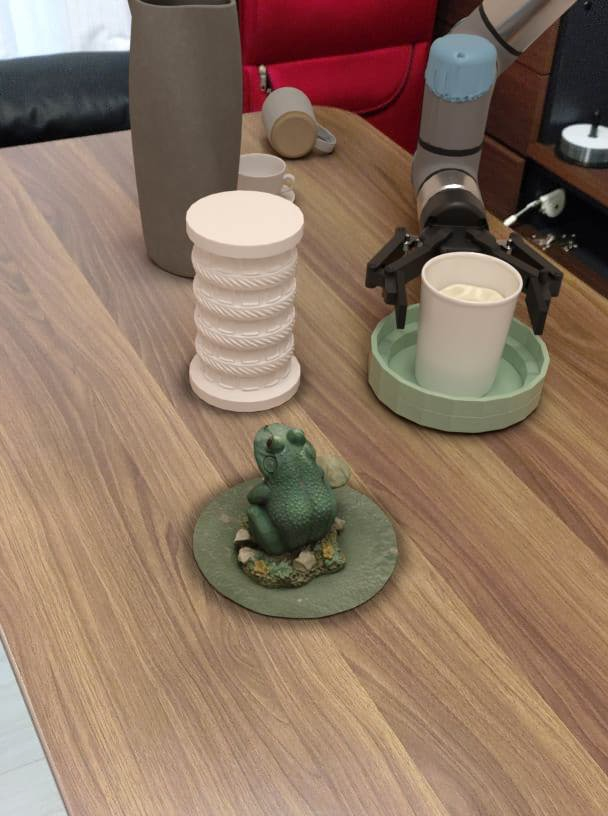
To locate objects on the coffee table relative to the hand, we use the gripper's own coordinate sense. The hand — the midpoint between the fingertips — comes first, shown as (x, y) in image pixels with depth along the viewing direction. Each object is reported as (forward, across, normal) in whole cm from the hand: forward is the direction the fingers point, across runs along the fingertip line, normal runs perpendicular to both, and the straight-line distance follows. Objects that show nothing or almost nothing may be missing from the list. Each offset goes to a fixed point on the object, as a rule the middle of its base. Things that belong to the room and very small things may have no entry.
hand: (471, 320), depth 95 cm
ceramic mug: (-61, +18, -9) cm, 64 cm away
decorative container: (-2, +22, -9) cm, 24 cm away
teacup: (-44, +23, -9) cm, 50 cm away
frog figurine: (+22, +16, -9) cm, 29 cm away
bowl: (-2, 0, -9) cm, 10 cm away
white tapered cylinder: (-2, 0, -9) cm, 9 cm away
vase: (-26, +30, -9) cm, 41 cm away
